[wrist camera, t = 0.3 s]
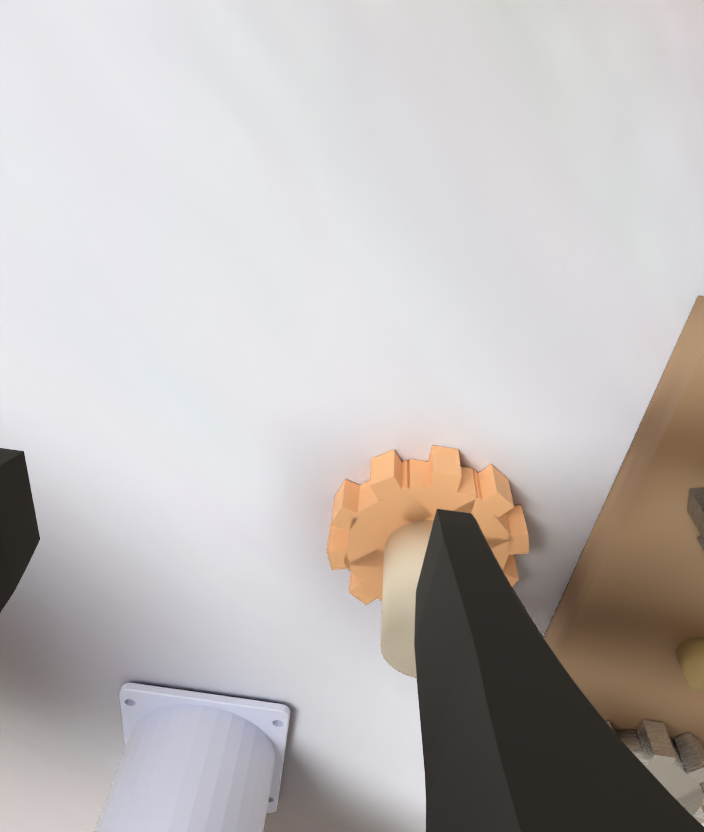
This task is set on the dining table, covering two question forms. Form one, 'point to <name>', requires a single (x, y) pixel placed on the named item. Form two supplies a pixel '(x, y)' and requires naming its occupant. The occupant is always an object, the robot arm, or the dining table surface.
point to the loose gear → (415, 533)
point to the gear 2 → (697, 511)
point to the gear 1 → (670, 762)
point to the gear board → (646, 567)
